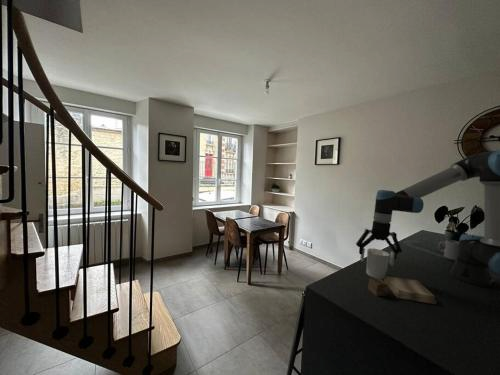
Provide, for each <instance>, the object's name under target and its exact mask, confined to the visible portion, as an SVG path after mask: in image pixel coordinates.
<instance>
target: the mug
mask: <svg viewBox="0 0 500 375" xmlns="http://www.w3.org/2000/svg"><path fill="white" fill-rule="evenodd" d="M441 245H444V249H441ZM458 248H459V241H457V240H453V239H446V240H445V241H440V242H438V245H437V250H438V251H439V252H442V253H443V257H444V258H445V259H448V260H452V261H456V260H457V254H458Z"/></svg>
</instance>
